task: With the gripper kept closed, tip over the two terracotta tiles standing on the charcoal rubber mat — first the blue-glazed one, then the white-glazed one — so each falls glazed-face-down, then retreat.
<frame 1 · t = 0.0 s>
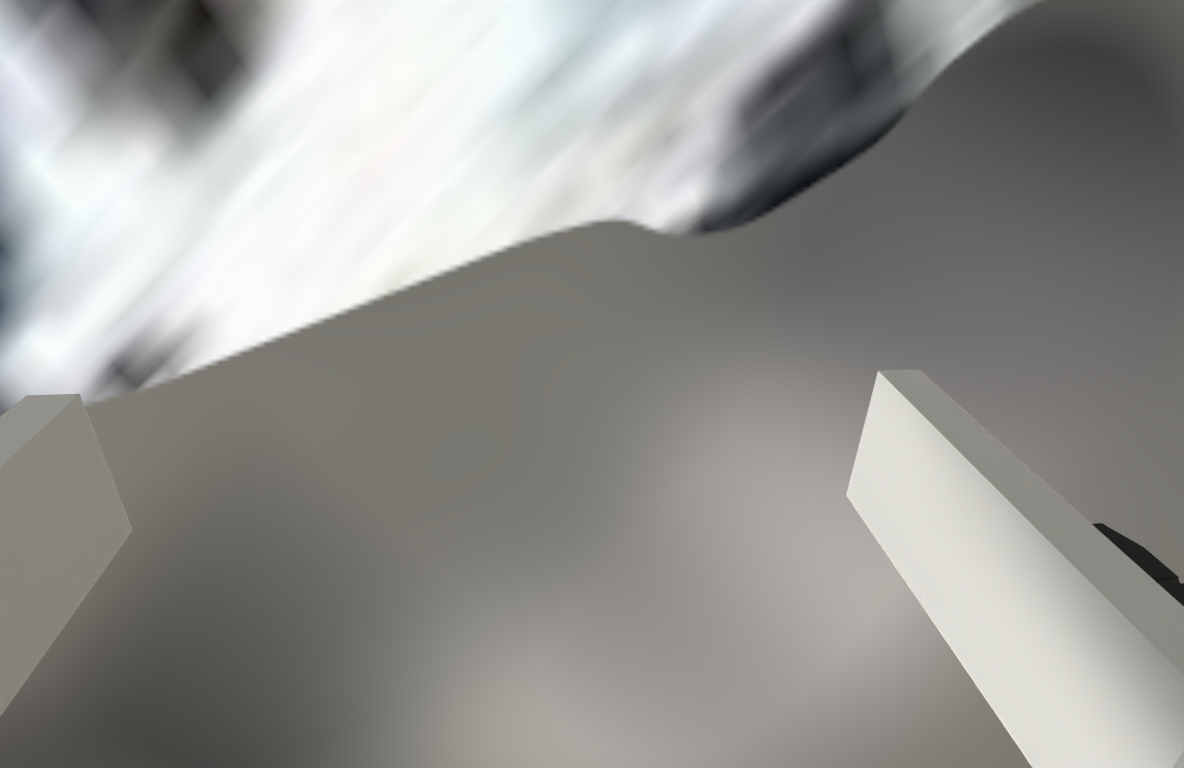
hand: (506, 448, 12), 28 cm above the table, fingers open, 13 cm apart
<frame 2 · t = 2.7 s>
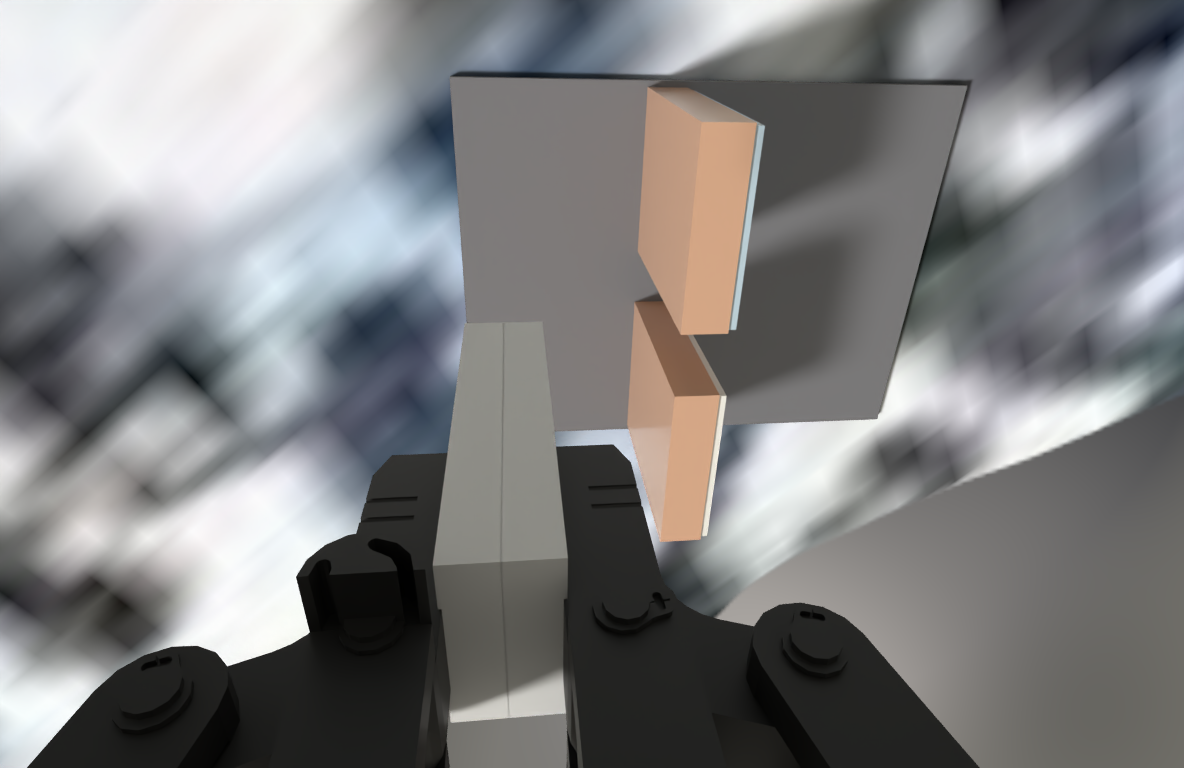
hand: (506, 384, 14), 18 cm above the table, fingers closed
blue glazed tile: (664, 173, 30), resting on mat
mat: (696, 273, 33), on the table
white glazed tile: (650, 365, 35), resting on mat
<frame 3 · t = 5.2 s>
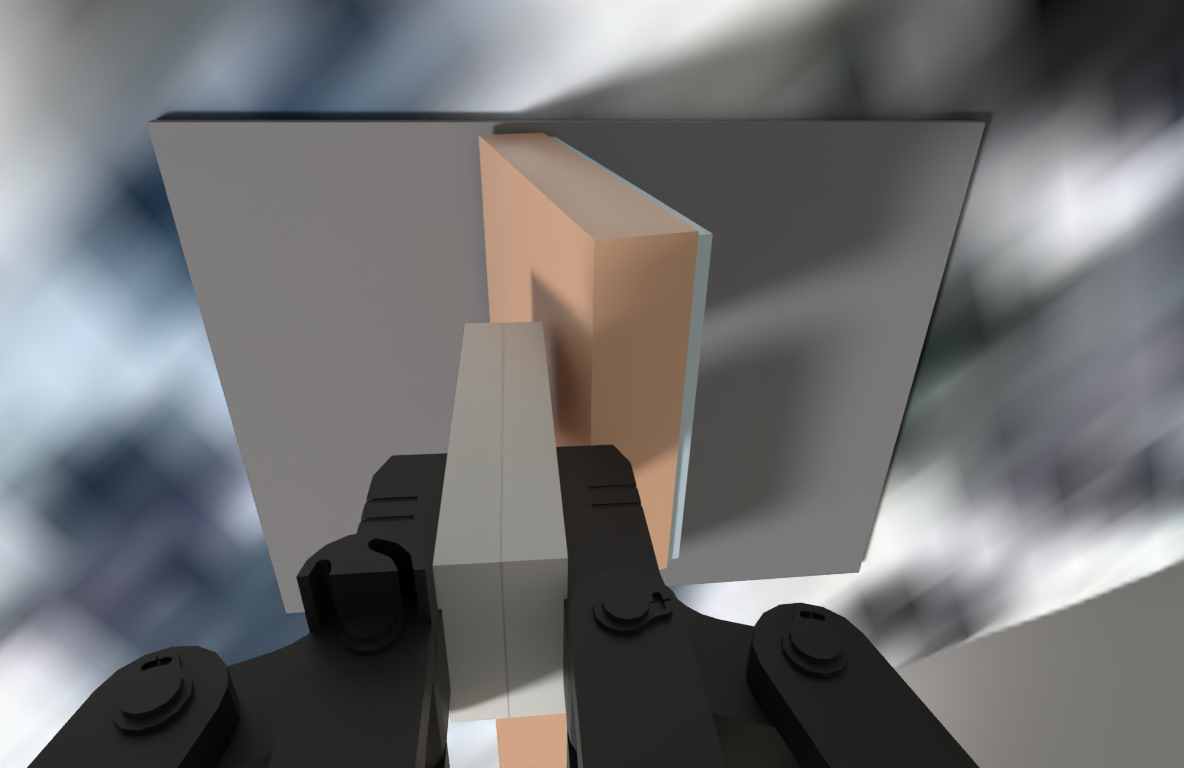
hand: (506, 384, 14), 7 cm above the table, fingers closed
blue glazed tile: (521, 263, 19), point 1 cm above the table, tilted 13°, touching mat
mat: (586, 395, 22), on the table
white glazed tile: (530, 519, 24), resting on mat
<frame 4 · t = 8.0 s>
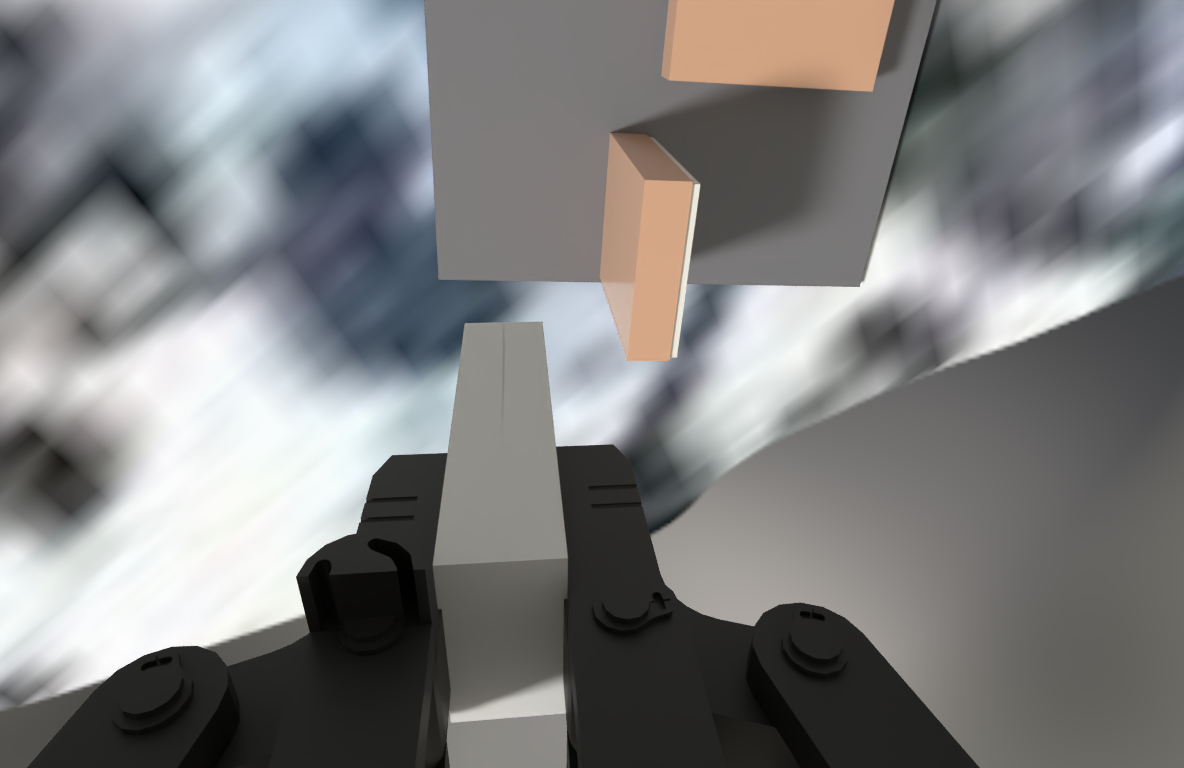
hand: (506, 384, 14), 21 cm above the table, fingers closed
mat: (675, 105, 31), on the table
white glazed tile: (625, 209, 33), resting on mat
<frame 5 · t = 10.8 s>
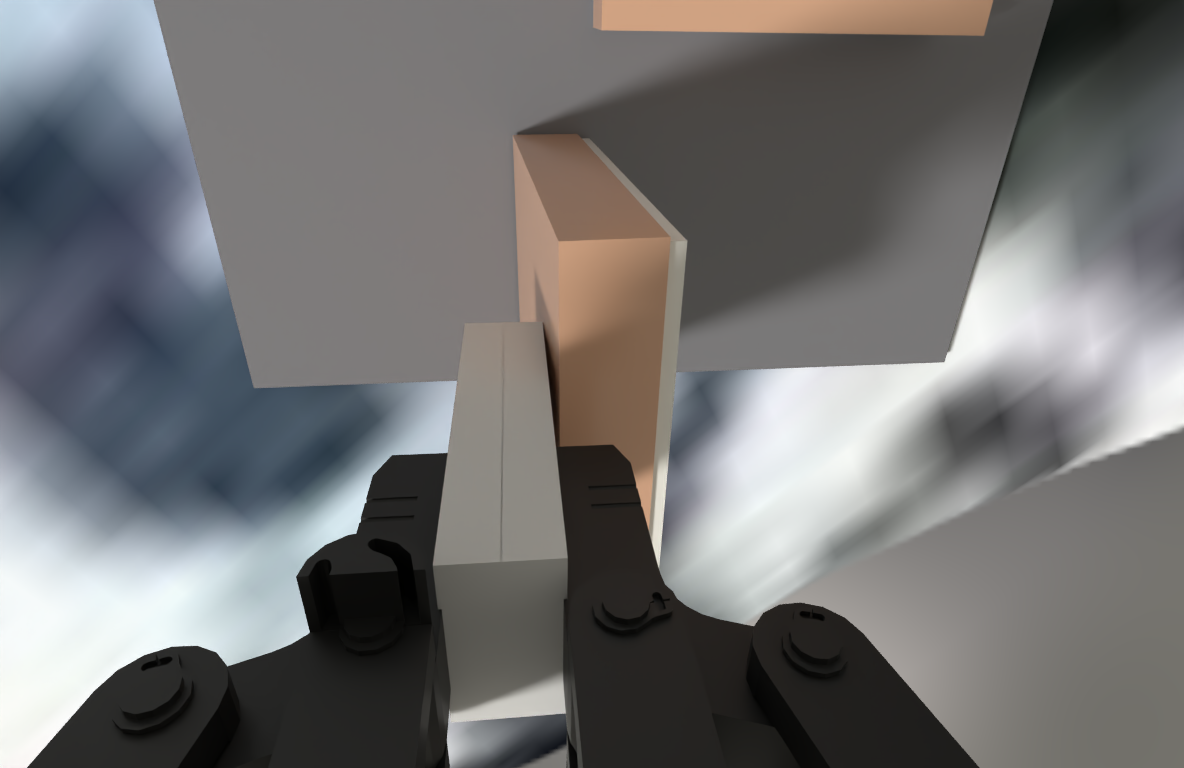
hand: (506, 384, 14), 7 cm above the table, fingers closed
mat: (626, 80, 18), on the table
white glazed tile: (552, 262, 20), resting on mat, touching gripper
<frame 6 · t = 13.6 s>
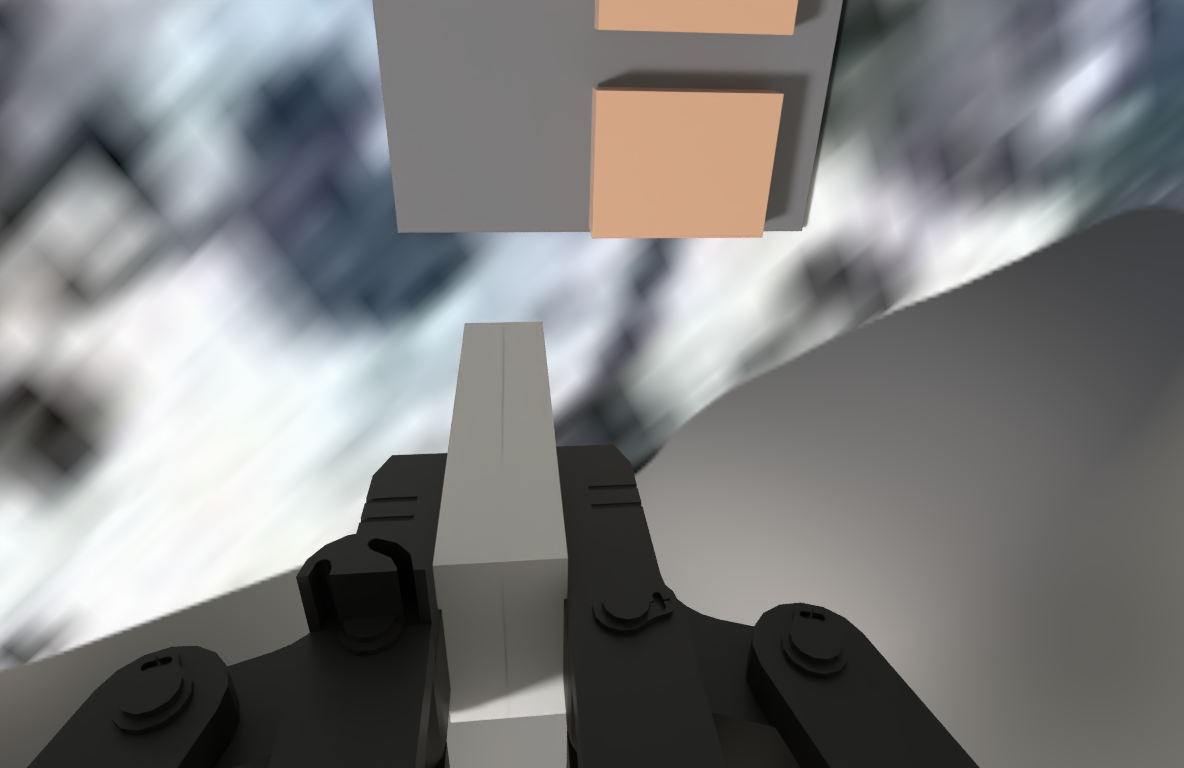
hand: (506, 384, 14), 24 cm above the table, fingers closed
mat: (611, 57, 33), on the table
white glazed tile: (592, 163, 34), point 1 cm above the table, tilted 90°, touching mat
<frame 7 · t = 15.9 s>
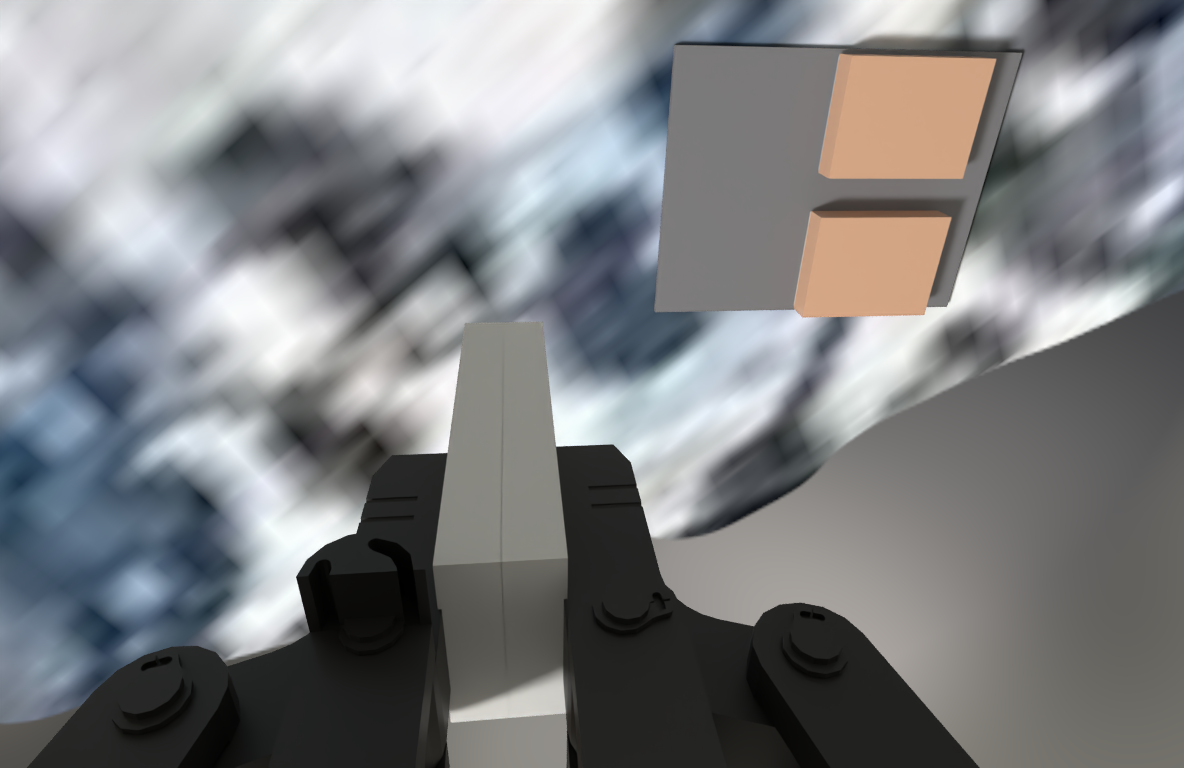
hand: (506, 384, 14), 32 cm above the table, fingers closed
blue glazed tile: (833, 117, 42), point 1 cm above the table, tilted 90°, touching mat
mat: (824, 189, 46), on the table
white glazed tile: (805, 264, 47), point 1 cm above the table, tilted 90°, touching mat
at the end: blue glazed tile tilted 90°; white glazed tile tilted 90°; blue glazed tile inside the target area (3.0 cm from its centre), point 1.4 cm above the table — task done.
